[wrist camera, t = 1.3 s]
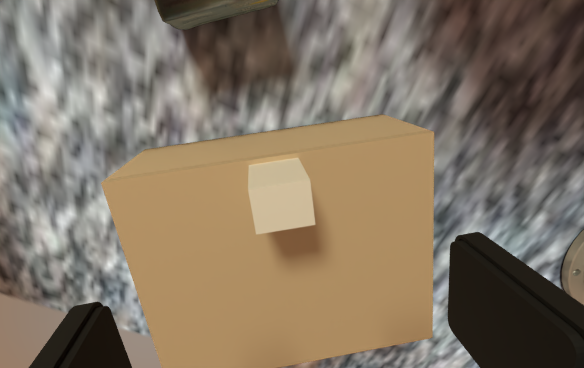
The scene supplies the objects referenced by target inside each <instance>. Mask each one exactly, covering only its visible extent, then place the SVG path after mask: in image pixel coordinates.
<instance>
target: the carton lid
mask: <svg viewBox="0 0 584 368" xmlns="http://www.w3.org/2000/svg"><path fill="white" fill-rule="evenodd" d="M101 184H102V187H103V190H104V193H105V196H106V199H107V202H108V206H109V209H110V212H111V215H112V218H113V221H114V224H115V227H116V230H117V233H118V236H119V239H120V242H121V245H122V248H123V251H124V254H125V257H126V260H127V263H128V266H129V269H130V272H131V275H132V278H133V281H134V284H135V287H136V290H137V293H138V297H139V300H140V303H141V306H142V309H143V312H144V315H145V318H146V321H147V324H148V327H149V330H150V333H151V336H152V339H153V342H154V345H155V348H156V351H157V354H158V357H159V360H160V363H161V366H162V368H279V367H284V366H290V365H295V364H300V363H305V362H310V361H315V360H321V359H326V358H331V357H336V356H341V355H346V354H352V353H357V352H362V351H367V350H372V349H377V348H383V347H388V346H393V345H398V344H403V343H409V342H414V341H419V340H424V339H429V338H432V324H433V207H434V132H433V131H430V130H428V131H421V132H415V133H408V134H402V135H395V136H389V137H382V138H376V139H369V140H362V141H356V142H349V143H343V144H336V145H330V146H323V147H317V148H310V149H303V150H297V151H290V152H284V153H277V154H271V155H264V156H257V157H251V158H244V159H238V160H231V161H225V162H218V163H212V164H205V165H198V166H192V167H185V168H179V169H172V170H166V171H159V172H153V173H146V174H139V175H133V176H126V177H120V178H113V179H107V180H104V181H103V182H102V183H101Z"/></svg>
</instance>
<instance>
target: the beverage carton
mask: <svg viewBox="0 0 584 368" xmlns="http://www.w3.org/2000/svg"><path fill="white" fill-rule="evenodd" d="M277 2H278V0H155V3H156V6H157V9H158V12H159V14H160V16H161V18H162V21H163V22H166V23H167V24H170V25H171V26H173V27H175V28H177V29H183V30H187V29H190V28H193V27H196V26H199V25H203V24H206V23H209V22H213V21H217V20H221V19H225V18H229V17H233V16H236V15H240V14H244V13H248V12H251V11H256V10H261V9H265V8H268V7H271V6H274V5H276V4H277Z"/></svg>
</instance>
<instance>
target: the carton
mask: <svg viewBox="0 0 584 368" xmlns="http://www.w3.org/2000/svg"><path fill="white" fill-rule="evenodd" d="M421 131H428V130H427V129H424V128H421V127H418V126H415V125H413V124H410V123H407V122H404V121H401V120H398V119H395V118H392V117H389V116H386V115H383V114H382V115H375V116H368V117H361V118H355V119H348V120H341V121H334V122H328V123H321V124H314V125H307V126H301V127H294V128H287V129H280V130H274V131H267V132H260V133H253V134H247V135H240V136H233V137H226V138H220V139H213V140H206V141H199V142H193V143H186V144H179V145H172V146H166V147H159V148H152V149H145V150H144V151H142V152H141V153H140V154H138V155H137V156H136V157H134V158H133V159H132V160H131V161H129V162H128V163H127V164H125V165H124V166H123V167H121V168H120V169H119V170H117V171H116V172H115V173H113V174H112V175H111V176H109V177H108V178H107V179H113V178H120V177H126V176H133V175H139V174H146V173H153V172H159V171H166V170H172V169H179V168H185V167H192V166H198V165H205V164H212V163H218V162H225V161H231V160H238V159H244V158H251V157H257V156H264V155H271V154H277V153H284V152H290V151H297V150H303V149H310V148H317V147H323V146H330V145H336V144H343V143H349V142H356V141H362V140H369V139H376V138H382V137H389V136H395V135H402V134H408V133H415V132H421ZM107 179H106V180H107Z"/></svg>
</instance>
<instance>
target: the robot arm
mask: <svg viewBox="0 0 584 368" xmlns="http://www.w3.org/2000/svg"><path fill="white" fill-rule="evenodd" d="M562 283H563V287H564V290H565V292H564V291H563V290H561V289H560V288H559V287H557V286H556V285H554V284H553V283H552V282H550V281H549V280H547V279H546V278H544V277H543V276H542V275H540V274H539V273H537V272H536V271H534V270H533V269H532V268H530V267H529V266H527V265H526V264H525V263H523V262H522V261H520V260H519V259H517V258H516V257H515V256H513V255H512V254H510V253H509V252H507V251H506V250H505V249H503V248H502V247H500V246H499V245H498V244H496V243H495V242H493V241H492V240H490V239H489V238H488V237H486V236H485V235H483V234H482V233H480V232H475V233H469V234H464V235H458V236H457V237H456V239H455V242H452V243H451V245H450V267H449V298H448V323H449V326H450V328H451V330H452V332H453V333H454V335H455V336H456V337H457V339H458V340H459V341H460V342H461V344H462V345H463V346H464V348H465V349H466V350H467V351H468V353H469V354H470V355H471V356H472V358H473V359H474V360H475V362H476V363H477V364H478V365H479V367H480V368H584V230H583V231H582V232H581V233H580V234H579V235H578V237H577V238H576V239H575V240H574V242H573V243H572V245H571V247H570V248H569V250H568V252H567V254H566V257H565V260H564V263H563V268H562ZM29 368H132V366H131V364H130V361H129V358H128V355H127V353H126V350H125V348H124V345H123V342H122V339H121V337H120V335H119V332H118V329H117V326H116V323H115V321H114V318H113V315H112V313H111V310H110V308H109V307H108V306H103V305H102V304H101V303H100V302H94V303H88V304H83V305H77V306H74V307H73V308H72V309H71V310H70V311H69V312H68V314H67V315H66V317H65V318H64V319H63V321H62V322H61V324H60V325H59V326H58V328H57V329H56V330H55V332H54V333H53V335H52V336H51V338H50V339H49V340H48V342H47V343H46V344H45V346H44V347H43V349H42V350H41V351H40V353H39V354H38V356H37V357H36V358H35V360H34V361H33V363H32V364H31V365H30V367H29Z"/></svg>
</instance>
